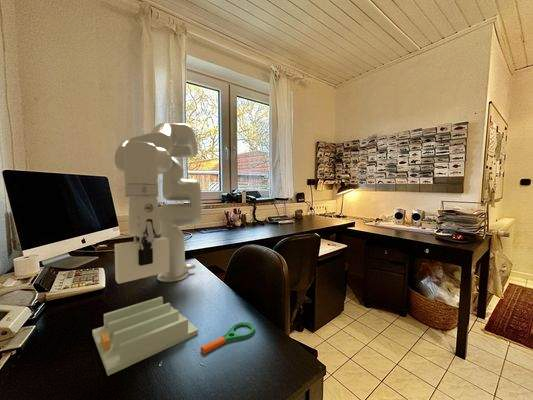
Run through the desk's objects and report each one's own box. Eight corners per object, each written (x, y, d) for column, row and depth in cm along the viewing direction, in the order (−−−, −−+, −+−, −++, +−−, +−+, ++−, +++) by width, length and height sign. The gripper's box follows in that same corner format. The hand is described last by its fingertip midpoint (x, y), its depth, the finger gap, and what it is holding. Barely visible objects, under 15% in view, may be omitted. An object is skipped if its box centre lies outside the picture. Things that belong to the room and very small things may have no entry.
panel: (165, 268, 66) (164, 237, 66) (169, 271, 64) (168, 238, 64) (115, 280, 58) (114, 244, 57) (118, 283, 56) (117, 246, 55)
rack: (169, 307, 75) (168, 293, 75) (198, 333, 62) (197, 316, 62) (92, 334, 61) (91, 316, 61) (107, 375, 48) (107, 353, 48)
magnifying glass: (245, 323, 67) (245, 317, 67) (259, 333, 63) (259, 326, 63) (196, 348, 57) (196, 341, 57) (209, 361, 52) (209, 354, 52)
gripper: (169, 191, 57) (170, 266, 58) (147, 191, 68) (148, 253, 69) (135, 192, 52) (137, 274, 52) (117, 191, 63) (119, 259, 64)
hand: (143, 262), depth 61 cm, fingers closed on panel, 2 cm apart
